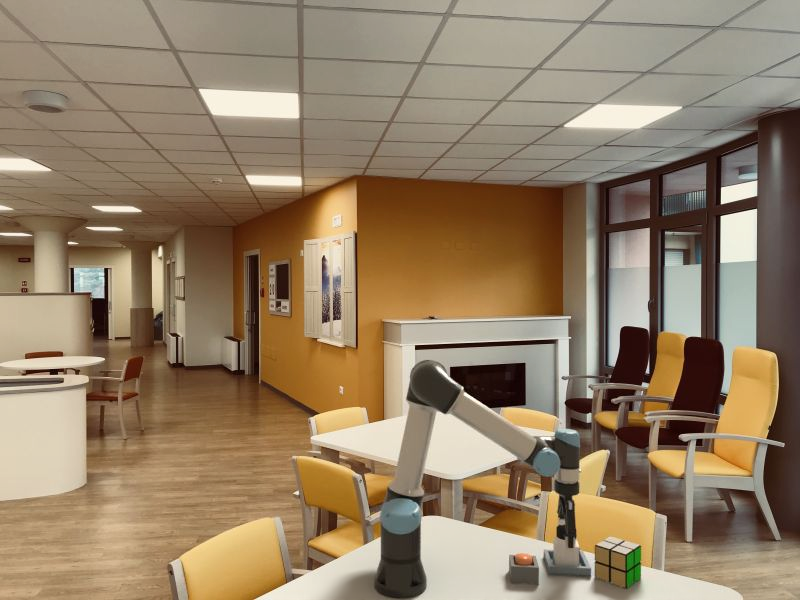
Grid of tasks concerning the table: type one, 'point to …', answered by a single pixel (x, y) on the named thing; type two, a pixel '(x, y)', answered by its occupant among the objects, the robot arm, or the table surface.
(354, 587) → the table surface
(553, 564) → the tray
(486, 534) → the table surface
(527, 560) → the button
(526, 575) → the button housing
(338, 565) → the table surface
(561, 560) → the medicine bottle
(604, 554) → the puzzle cube
